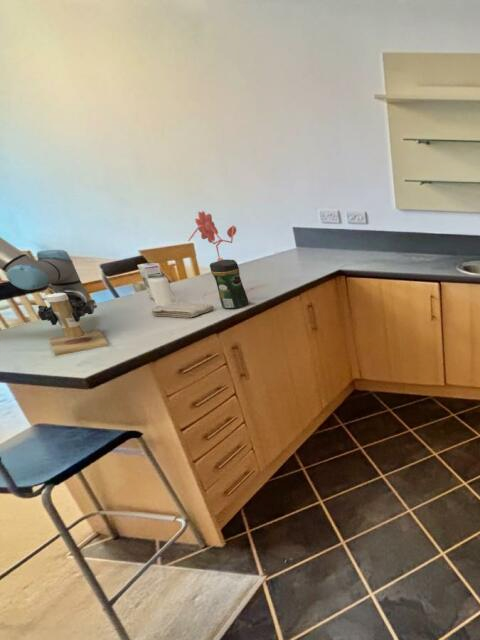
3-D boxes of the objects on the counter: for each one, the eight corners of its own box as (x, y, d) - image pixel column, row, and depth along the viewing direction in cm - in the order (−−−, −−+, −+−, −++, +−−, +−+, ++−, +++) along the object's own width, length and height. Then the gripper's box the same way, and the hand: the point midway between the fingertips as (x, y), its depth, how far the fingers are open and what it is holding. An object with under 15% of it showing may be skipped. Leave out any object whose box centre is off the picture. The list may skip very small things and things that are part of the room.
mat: (50, 340, 134) (49, 338, 133) (100, 331, 142) (98, 329, 141) (55, 355, 123) (54, 353, 123) (108, 345, 131) (107, 342, 131)
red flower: (256, 288, 199) (236, 209, 183) (224, 302, 176) (198, 214, 160) (224, 287, 198) (200, 208, 183) (188, 302, 175) (157, 213, 159)
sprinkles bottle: (84, 336, 131) (64, 294, 125) (64, 339, 128) (43, 296, 122) (86, 332, 134) (67, 291, 128) (67, 335, 132) (46, 293, 126)
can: (176, 302, 175) (165, 273, 169) (177, 306, 170) (166, 276, 165) (156, 305, 171) (145, 275, 166) (157, 308, 167) (146, 278, 161)
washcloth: (175, 307, 168) (172, 300, 167) (216, 309, 166) (214, 302, 165) (149, 316, 157) (146, 308, 156) (193, 318, 156) (190, 310, 154)
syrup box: (171, 297, 181) (159, 263, 175) (155, 300, 177) (142, 266, 170) (165, 295, 184) (153, 262, 177) (149, 298, 179) (136, 264, 173)
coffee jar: (235, 302, 176) (222, 257, 168) (252, 303, 175) (240, 258, 167) (218, 309, 167) (203, 262, 159) (236, 310, 167) (222, 263, 158)
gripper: (109, 308, 147) (107, 325, 131) (39, 317, 137) (28, 336, 121) (99, 287, 144) (97, 302, 128) (27, 295, 134) (15, 312, 118)
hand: (63, 319), depth 125 cm, fingers closed on sprinkles bottle, 4 cm apart
